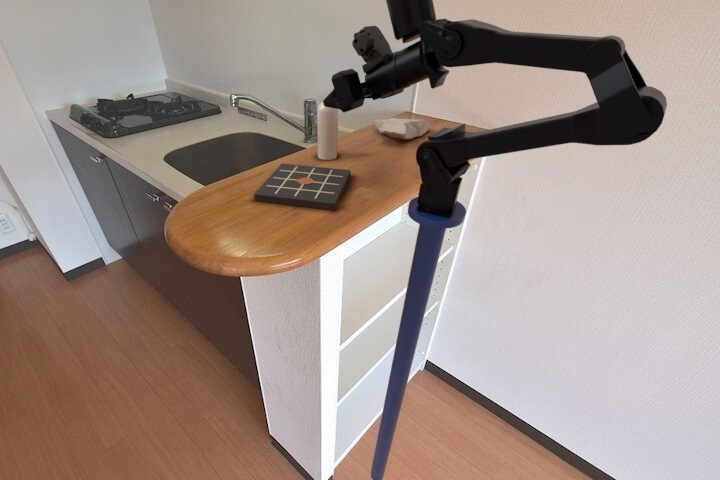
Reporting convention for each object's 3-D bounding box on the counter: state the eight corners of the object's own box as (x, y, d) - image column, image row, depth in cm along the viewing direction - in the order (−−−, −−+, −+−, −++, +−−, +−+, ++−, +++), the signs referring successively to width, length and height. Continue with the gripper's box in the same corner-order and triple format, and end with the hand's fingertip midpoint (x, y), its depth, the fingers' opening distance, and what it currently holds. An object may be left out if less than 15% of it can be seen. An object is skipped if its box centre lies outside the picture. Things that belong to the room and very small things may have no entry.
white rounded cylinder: (340, 155, 88) (341, 98, 80) (331, 161, 85) (332, 103, 77) (323, 151, 90) (323, 96, 82) (314, 158, 87) (313, 101, 79)
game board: (350, 176, 78) (350, 169, 77) (334, 210, 66) (334, 203, 65) (282, 169, 81) (281, 162, 80) (254, 200, 69) (253, 193, 68)
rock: (353, 139, 98) (401, 146, 89) (353, 122, 95) (402, 127, 87) (393, 128, 112) (438, 132, 103) (394, 112, 109) (440, 115, 101)
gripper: (419, 13, 63) (353, 51, 75) (358, 18, 52) (292, 62, 63) (433, 79, 67) (368, 105, 78) (379, 97, 56) (313, 125, 67)
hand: (338, 99), depth 72 cm, fingers open, 9 cm apart
